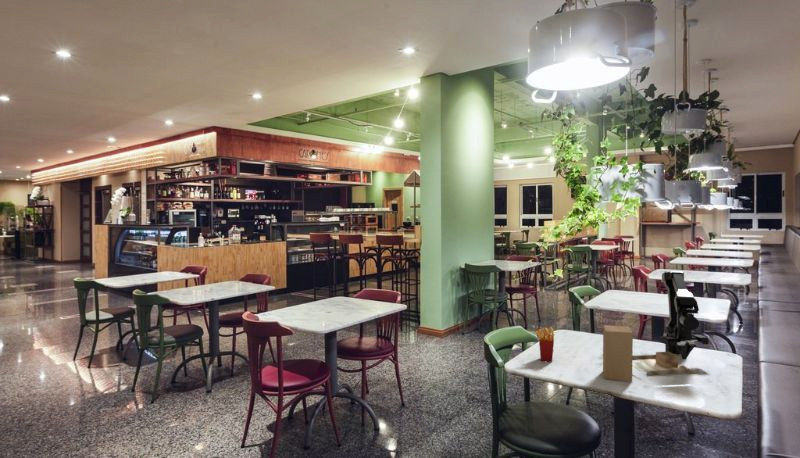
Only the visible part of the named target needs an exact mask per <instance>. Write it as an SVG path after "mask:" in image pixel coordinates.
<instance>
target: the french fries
mask: <svg viewBox="0 0 800 458" xmlns="http://www.w3.org/2000/svg"><path fill="white" fill-rule="evenodd" d="M549 329H550V331H551V332H549ZM549 329H548V328H547V327H544V328H541V329H540V328H539V329H537V330H536V331H535V334H536V336H537V337H538V343H539V354H540V361H541V362H543V361H546V362H547V363H552V362H553V355H554V346H555V345H554V343H555V338H554V336H555V334H554V333H555V331H554V329H553V326H550V327H549Z"/></svg>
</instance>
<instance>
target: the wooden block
mask: <svg viewBox="0 0 800 458" xmlns="http://www.w3.org/2000/svg"><path fill="white" fill-rule="evenodd" d="M602 327H603V328H602V332H603V333H602V372H603V375H604V379H605V380H611V381H620V382H621V381H622V382H630V383H631V382H633V366H632V363H633V359H632V356H633V350H634V349H633V346H634V345H633V342H634V341H633V340H634V334H633V331H632V329H631V328H630V327H629V326H626V325H625V326H623V325H621V326H620V325H608V324H607V325H606V324H604V325H603V326H602Z"/></svg>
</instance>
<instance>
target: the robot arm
mask: <svg viewBox="0 0 800 458" xmlns="http://www.w3.org/2000/svg"><path fill="white" fill-rule="evenodd" d="M661 281H662V282H663V286H664V287H665V289H666V290H667V296H668V297H667V298H668V299H667V300H668V315H669V321H668V322H667V324H666V325H665V326H663V327H664V329H663V330H664V331H663V335H661V336H660V338H659V340H660V341H659V342H660V343H662V344H664V345H665V346H664V347H665V348H664V349H665V350H664V352H671V353H673V354H675V355H680V356H681V359H682V360H683V361H685V360H687V358H688V357H689V355H690V354H691V352H692V351H693V350H694V348H696V347H697V344H695V343H697V342H699V343H701V344H702V345H710V340H709V338H708V337H707V336H704V335H702V334H693V331H695V330H697V329H698V328H699V326H700V322H699V319H697V318H696V317H695V314H699V310H700V308H699V306H698V305H699V304H698V301H697V299H696V298H695V297H694V294H693V293H692V292H691V291H689V290H688V287H687V285H686V284H687V283H686V282H685V273H684V272H683V271H680V270H671V271H670V270H669V271H667V270H665V271H664V272H662V273H661Z"/></svg>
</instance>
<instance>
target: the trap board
mask: <svg viewBox="0 0 800 458" xmlns="http://www.w3.org/2000/svg"><path fill="white" fill-rule="evenodd" d="M632 360H637V362H635V361H634V362H632V368H635V369H637V370H638V371H641V372H645V371H646V375H647V376H662V375H684V374H687V375H688V374H699V370H700V369H699V368H690V367H687V366H686V365H683V364H681V363H679V362H678V367H677V368H664V367H662V366H660V365H658V364H656V353H655V354H634V355H633V356H632Z"/></svg>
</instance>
